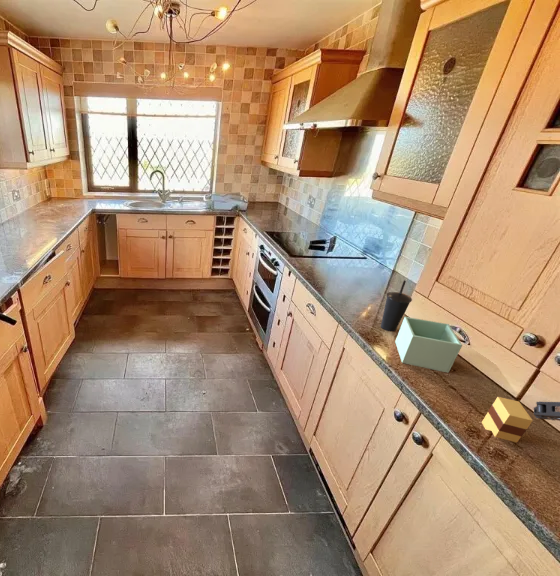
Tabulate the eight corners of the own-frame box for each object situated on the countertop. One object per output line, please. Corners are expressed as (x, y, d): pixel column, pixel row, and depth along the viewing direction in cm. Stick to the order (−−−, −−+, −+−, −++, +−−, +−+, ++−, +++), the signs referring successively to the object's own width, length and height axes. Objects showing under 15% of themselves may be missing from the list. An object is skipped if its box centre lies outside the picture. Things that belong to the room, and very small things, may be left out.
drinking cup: (377, 331, 115) (393, 283, 106) (375, 320, 121) (390, 274, 112) (401, 335, 112) (420, 287, 103) (398, 325, 118) (415, 278, 110)
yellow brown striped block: (501, 427, 77) (519, 401, 73) (514, 447, 72) (533, 421, 68) (481, 422, 79) (497, 396, 75) (491, 441, 74) (509, 415, 70)
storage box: (436, 350, 105) (448, 324, 100) (448, 373, 95) (462, 345, 90) (395, 341, 109) (404, 316, 105) (401, 362, 99) (412, 335, 95)
